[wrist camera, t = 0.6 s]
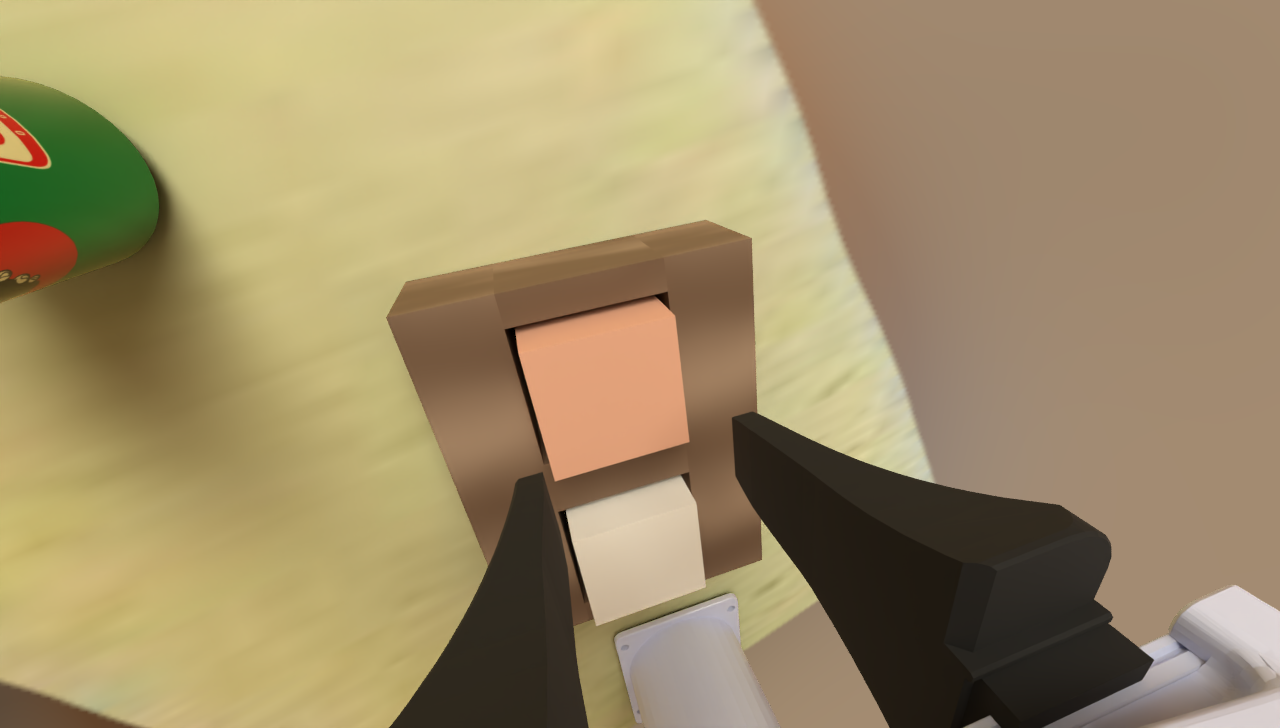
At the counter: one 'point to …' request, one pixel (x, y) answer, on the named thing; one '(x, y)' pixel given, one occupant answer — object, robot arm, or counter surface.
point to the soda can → (65, 190)
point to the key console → (500, 399)
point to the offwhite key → (638, 548)
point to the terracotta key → (605, 384)
